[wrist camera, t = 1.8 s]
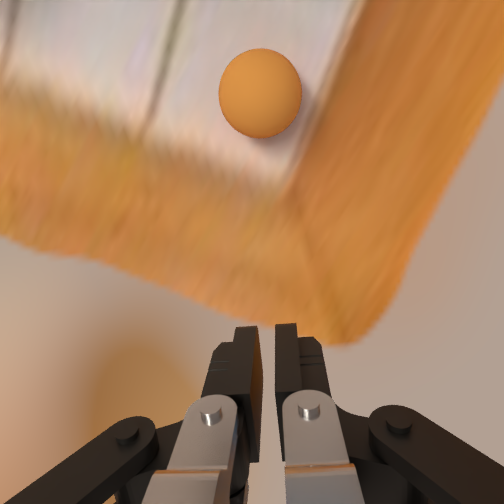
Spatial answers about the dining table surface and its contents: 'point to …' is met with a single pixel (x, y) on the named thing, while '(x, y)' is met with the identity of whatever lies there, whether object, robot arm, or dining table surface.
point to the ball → (260, 93)
